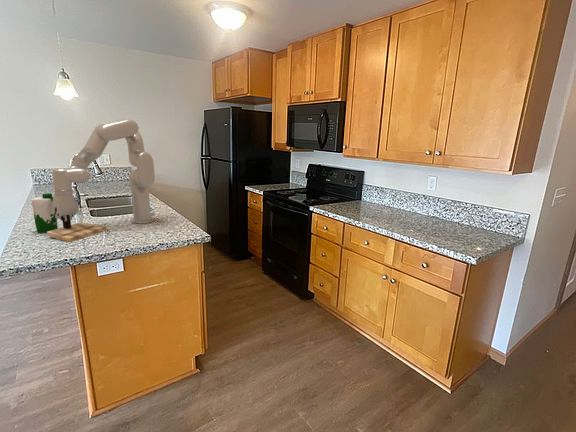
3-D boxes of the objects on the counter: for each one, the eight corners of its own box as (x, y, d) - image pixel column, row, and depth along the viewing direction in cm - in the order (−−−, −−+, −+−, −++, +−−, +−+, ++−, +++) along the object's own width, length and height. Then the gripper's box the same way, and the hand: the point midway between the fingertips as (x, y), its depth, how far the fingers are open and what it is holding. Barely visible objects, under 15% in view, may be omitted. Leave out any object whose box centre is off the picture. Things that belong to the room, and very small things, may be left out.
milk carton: (55, 232, 167) (49, 195, 162) (34, 234, 164) (28, 195, 159) (60, 228, 175) (55, 192, 170) (40, 229, 172) (34, 192, 167)
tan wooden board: (81, 225, 177) (81, 222, 176) (94, 229, 175) (94, 225, 174) (46, 235, 158) (46, 231, 157) (60, 239, 156) (60, 235, 155)
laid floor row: (97, 229, 176) (96, 225, 175) (106, 230, 174) (105, 226, 174) (60, 240, 155) (59, 236, 155) (69, 242, 154) (69, 238, 153)
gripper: (71, 190, 170) (74, 223, 174) (43, 194, 155) (47, 230, 159) (82, 191, 168) (85, 225, 172) (55, 195, 154) (59, 232, 158)
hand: (67, 227), depth 166 cm, fingers closed
